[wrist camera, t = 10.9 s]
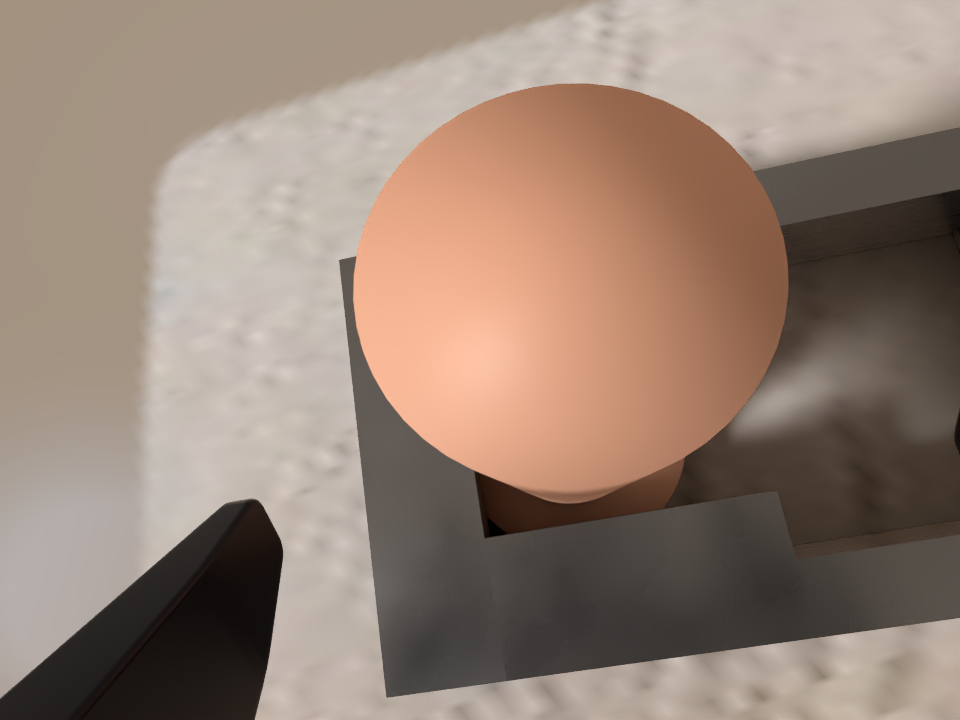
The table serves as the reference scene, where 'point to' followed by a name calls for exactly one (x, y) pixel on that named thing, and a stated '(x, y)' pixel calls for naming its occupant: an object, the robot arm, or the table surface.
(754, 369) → the peg
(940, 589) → the keyhole plate
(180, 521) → the table surface
